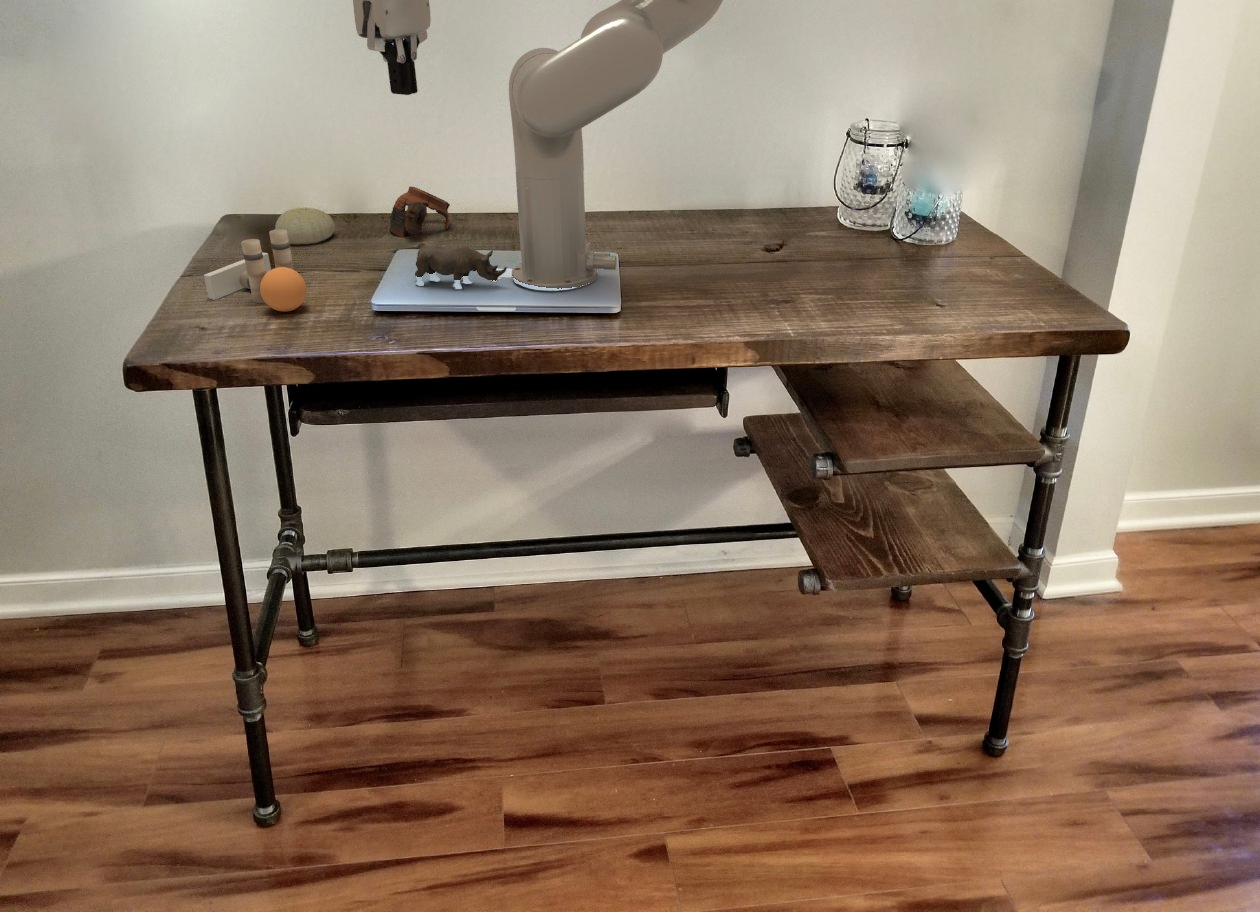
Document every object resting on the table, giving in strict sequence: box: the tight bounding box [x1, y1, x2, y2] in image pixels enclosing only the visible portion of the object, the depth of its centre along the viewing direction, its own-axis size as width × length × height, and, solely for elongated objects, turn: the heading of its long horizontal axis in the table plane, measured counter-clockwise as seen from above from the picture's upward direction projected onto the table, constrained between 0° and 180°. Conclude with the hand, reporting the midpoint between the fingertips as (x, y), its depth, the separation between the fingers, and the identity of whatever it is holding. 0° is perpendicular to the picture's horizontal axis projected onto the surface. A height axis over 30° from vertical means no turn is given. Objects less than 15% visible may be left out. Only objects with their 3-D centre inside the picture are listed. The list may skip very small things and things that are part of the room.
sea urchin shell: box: [274, 207, 336, 246], centre depth 170 cm, size 9×8×8 cm
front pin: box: [240, 271, 251, 290], centre depth 148 cm, size 2×2×8 cm
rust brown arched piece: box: [389, 186, 451, 238], centre depth 172 cm, size 12×10×8 cm
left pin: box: [240, 238, 266, 304], centre depth 144 cm, size 2×2×8 cm
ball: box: [260, 267, 308, 313], centre depth 141 cm, size 6×6×6 cm
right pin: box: [268, 228, 295, 270], centre depth 148 cm, size 2×2×8 cm
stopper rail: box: [203, 251, 272, 301], centre depth 150 cm, size 1×11×4 cm, turn 151°
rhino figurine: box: [414, 244, 508, 282], centre depth 149 cm, size 4×14×6 cm, turn 79°
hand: (404, 93), depth 137 cm, fingers closed
